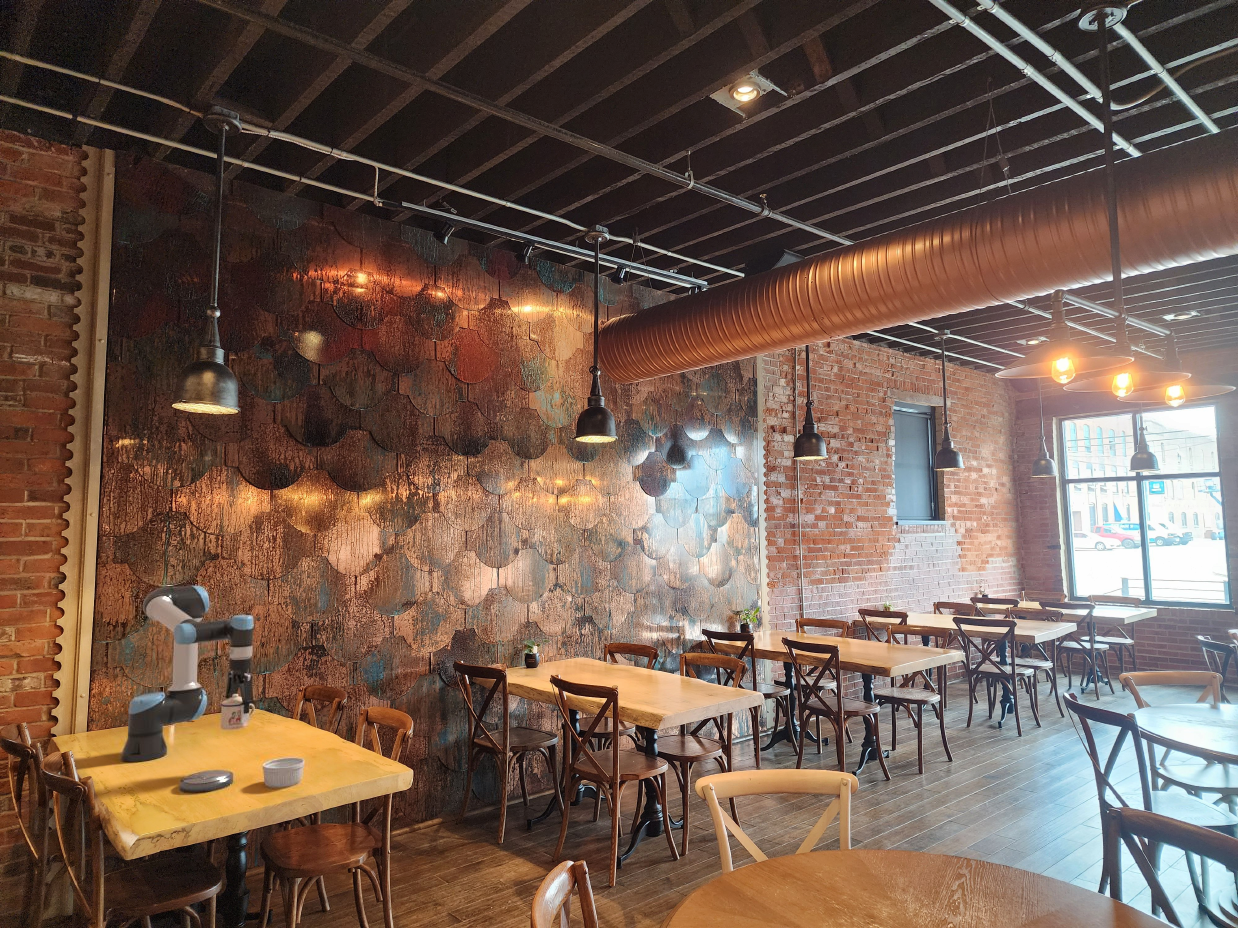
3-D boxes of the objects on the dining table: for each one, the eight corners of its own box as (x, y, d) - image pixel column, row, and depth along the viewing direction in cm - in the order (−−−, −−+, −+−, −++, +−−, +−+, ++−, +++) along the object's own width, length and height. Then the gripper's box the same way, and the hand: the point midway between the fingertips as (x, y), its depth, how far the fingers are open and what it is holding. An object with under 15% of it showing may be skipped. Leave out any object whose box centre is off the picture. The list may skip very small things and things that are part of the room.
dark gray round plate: (171, 786, 255) (171, 777, 256) (220, 774, 268) (220, 766, 268) (192, 796, 245) (192, 786, 246) (241, 783, 258) (241, 774, 258)
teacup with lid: (228, 731, 268) (229, 697, 269) (214, 727, 273) (216, 695, 274) (260, 724, 278) (261, 691, 279) (246, 721, 283) (248, 689, 284)
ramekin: (292, 774, 268) (293, 754, 268) (311, 782, 259) (312, 761, 260) (255, 784, 257) (255, 763, 258) (273, 792, 249) (274, 770, 250)
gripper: (216, 656, 281) (214, 718, 279) (244, 661, 268) (242, 726, 266) (236, 653, 287) (234, 714, 285) (265, 659, 274) (263, 722, 272)
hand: (238, 720), depth 276 cm, fingers closed on teacup with lid, 9 cm apart
